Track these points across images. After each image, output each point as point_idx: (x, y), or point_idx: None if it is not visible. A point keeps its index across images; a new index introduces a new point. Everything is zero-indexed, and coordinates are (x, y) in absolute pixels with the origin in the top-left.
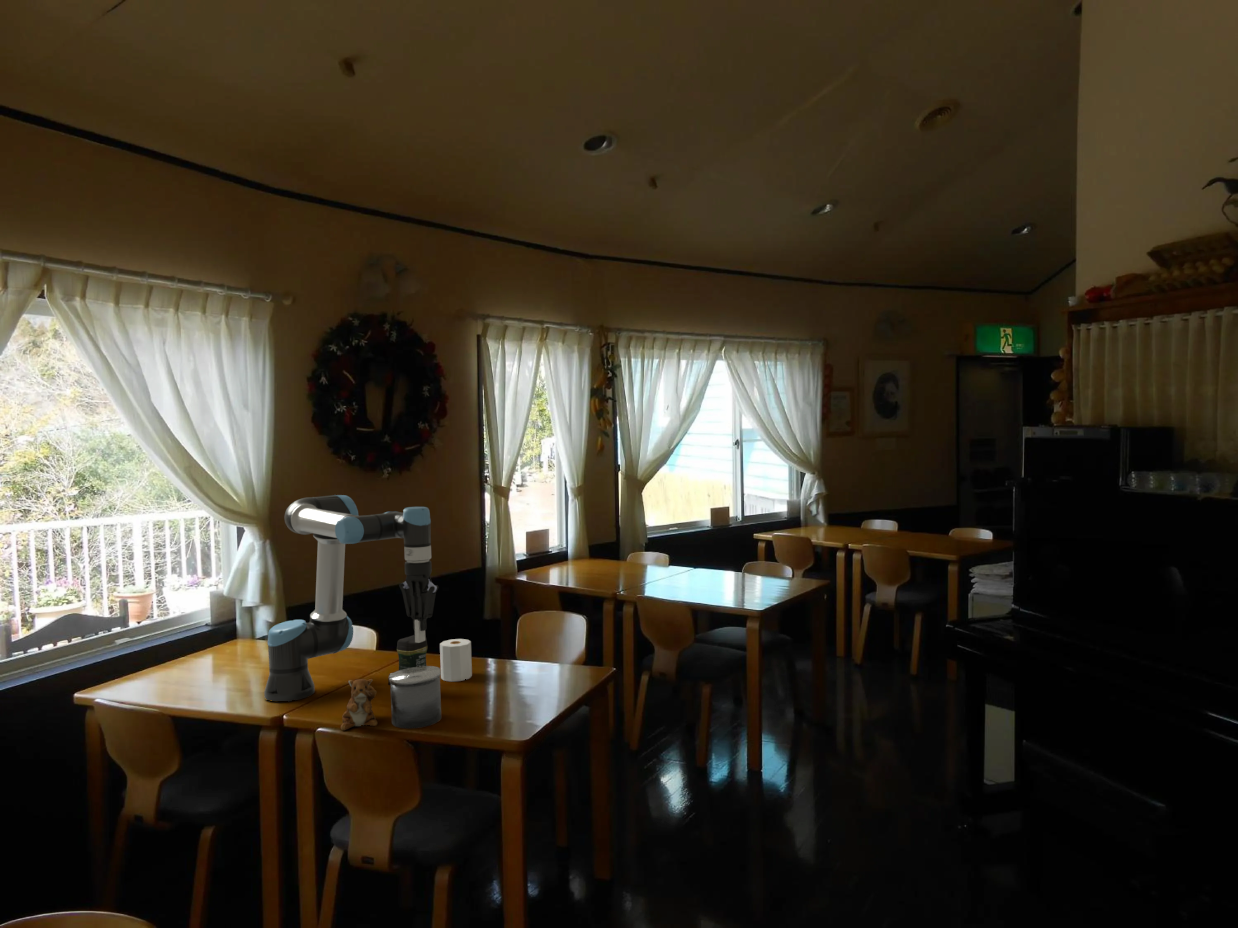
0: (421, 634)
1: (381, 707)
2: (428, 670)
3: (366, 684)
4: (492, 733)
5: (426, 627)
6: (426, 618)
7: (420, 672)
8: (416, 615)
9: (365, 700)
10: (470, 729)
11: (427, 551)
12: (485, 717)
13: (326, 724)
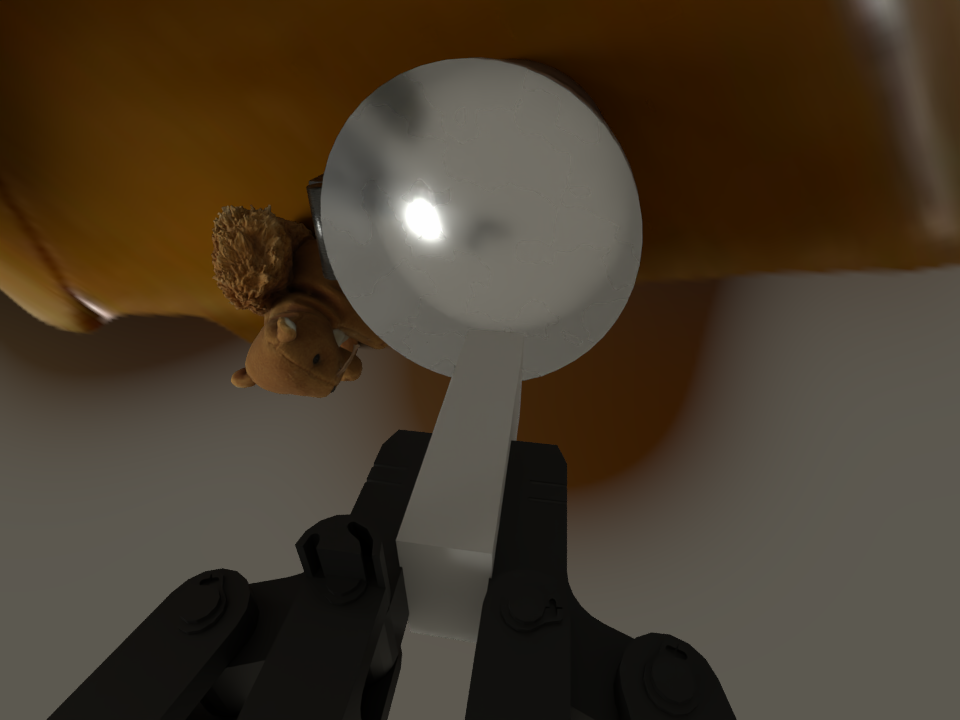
0: (514, 434)
1: (256, 105)
2: (532, 184)
3: (310, 359)
4: (950, 199)
5: (565, 472)
6: (584, 621)
7: (506, 238)
8: (379, 666)
9: (343, 335)
10: (816, 192)
11: None
12: (846, 3)
13: (262, 323)
